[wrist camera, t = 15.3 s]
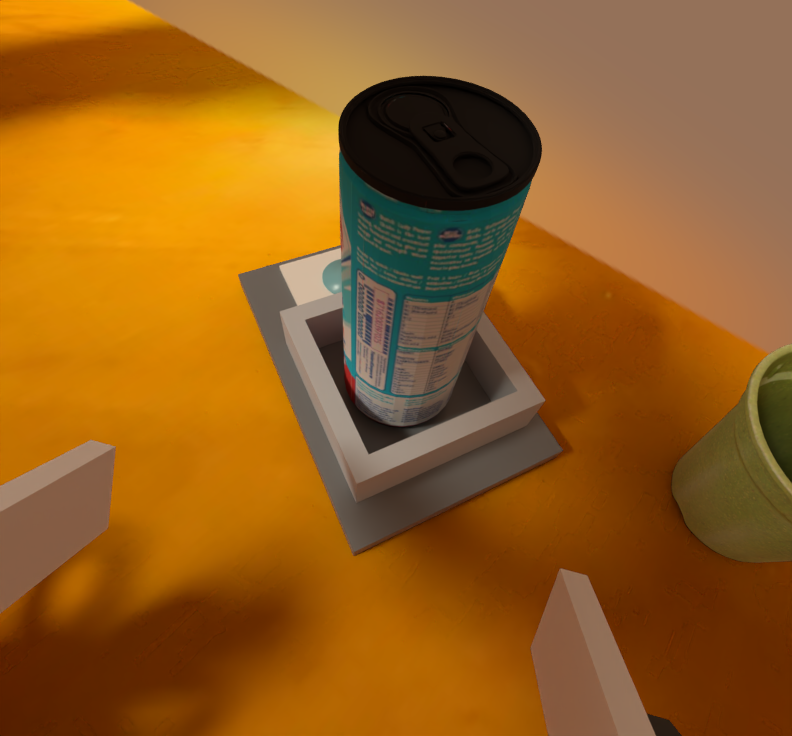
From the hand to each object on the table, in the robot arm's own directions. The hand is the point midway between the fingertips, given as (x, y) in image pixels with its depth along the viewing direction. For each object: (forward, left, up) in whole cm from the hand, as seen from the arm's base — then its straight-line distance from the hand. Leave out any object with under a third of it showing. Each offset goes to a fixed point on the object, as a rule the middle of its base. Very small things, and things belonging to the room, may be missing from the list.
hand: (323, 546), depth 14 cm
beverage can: (-8, +7, -9) cm, 14 cm away
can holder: (-10, +7, -10) cm, 16 cm away
